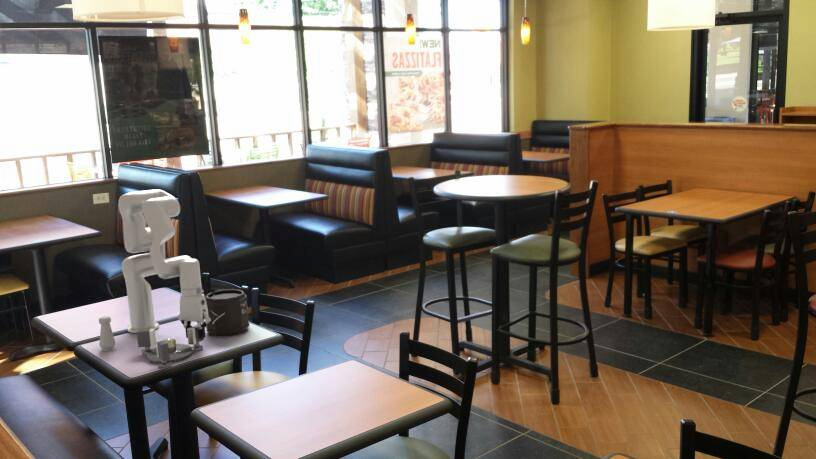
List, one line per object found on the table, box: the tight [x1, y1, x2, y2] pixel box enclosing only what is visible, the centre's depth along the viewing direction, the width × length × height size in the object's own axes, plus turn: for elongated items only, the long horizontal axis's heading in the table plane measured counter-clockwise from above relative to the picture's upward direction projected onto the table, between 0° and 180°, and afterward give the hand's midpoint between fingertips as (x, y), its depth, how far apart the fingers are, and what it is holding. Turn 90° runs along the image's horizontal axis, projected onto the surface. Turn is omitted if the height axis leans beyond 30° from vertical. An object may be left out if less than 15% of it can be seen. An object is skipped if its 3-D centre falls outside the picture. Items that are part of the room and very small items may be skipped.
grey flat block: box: [136, 329, 157, 351], centre depth 278 cm, size 2×6×8 cm, turn 97°
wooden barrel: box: [205, 288, 251, 338], centre depth 301 cm, size 18×18×16 cm
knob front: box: [155, 338, 170, 364], centre depth 264 cm, size 2×6×8 cm, turn 36°
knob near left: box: [187, 324, 205, 347], centre depth 281 cm, size 2×6×8 cm, turn 157°
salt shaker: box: [98, 315, 116, 352], centre depth 285 cm, size 6×6×13 cm
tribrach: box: [141, 337, 204, 369], centre depth 272 cm, size 21×23×7 cm
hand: (195, 337), depth 281 cm, fingers open, 5 cm apart
